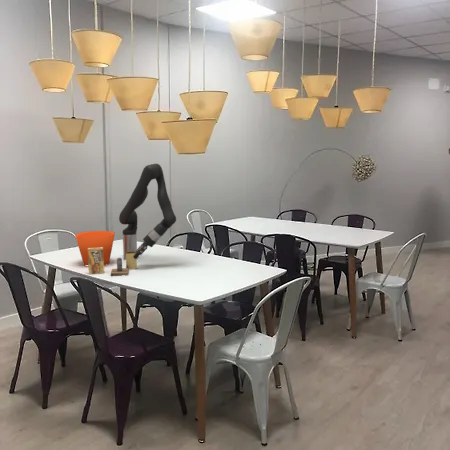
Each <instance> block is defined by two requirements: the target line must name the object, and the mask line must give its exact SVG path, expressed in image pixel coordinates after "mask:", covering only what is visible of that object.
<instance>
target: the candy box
mask: <svg viewBox="0 0 450 450" xmlns="http://www.w3.org/2000/svg"><path fill="white" fill-rule="evenodd" d="M88 265H89V266H88V274H89V275H93V274H94V275H95V273H98V274H104V273H105V265H104V260H103V247H100V248H88Z"/></svg>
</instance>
